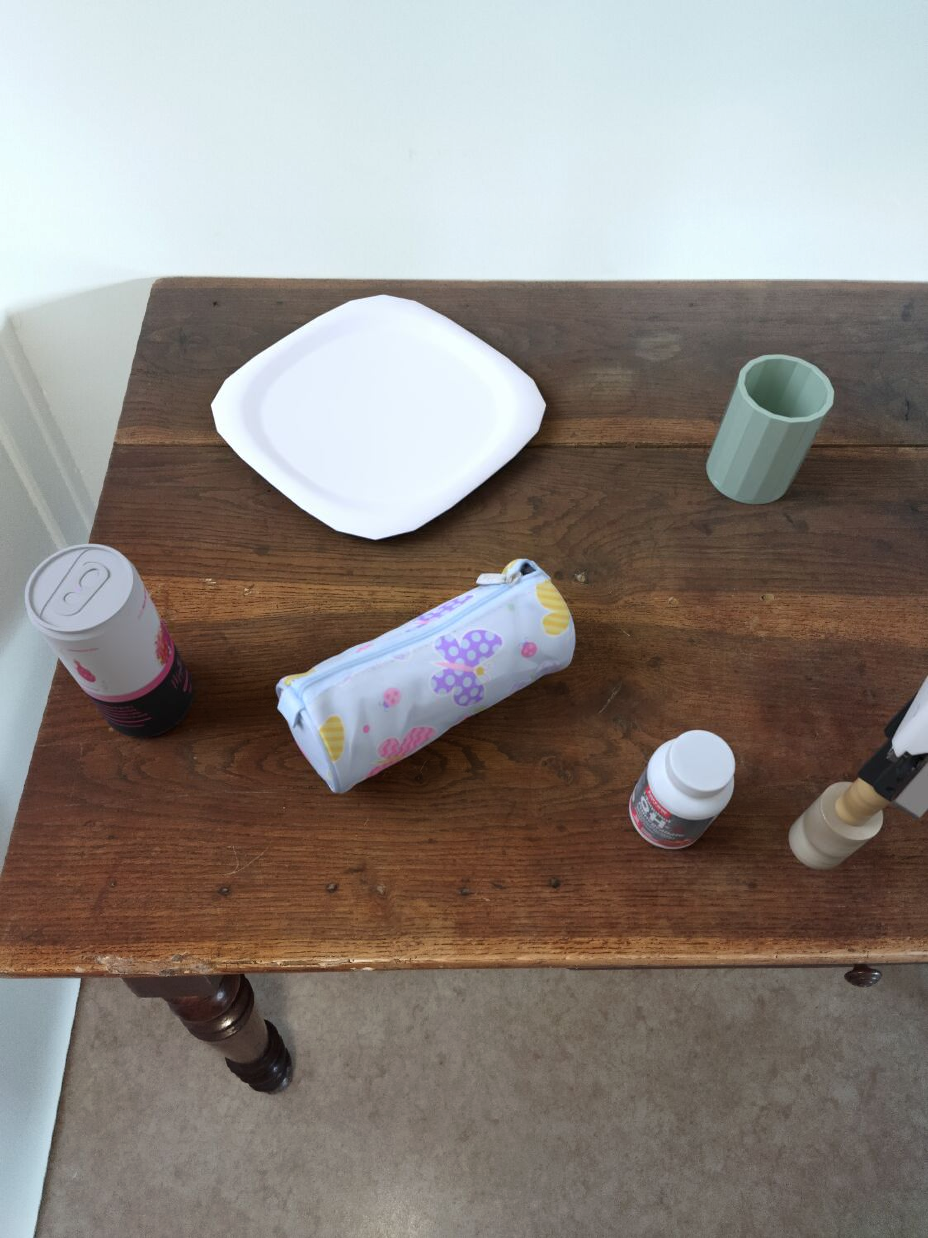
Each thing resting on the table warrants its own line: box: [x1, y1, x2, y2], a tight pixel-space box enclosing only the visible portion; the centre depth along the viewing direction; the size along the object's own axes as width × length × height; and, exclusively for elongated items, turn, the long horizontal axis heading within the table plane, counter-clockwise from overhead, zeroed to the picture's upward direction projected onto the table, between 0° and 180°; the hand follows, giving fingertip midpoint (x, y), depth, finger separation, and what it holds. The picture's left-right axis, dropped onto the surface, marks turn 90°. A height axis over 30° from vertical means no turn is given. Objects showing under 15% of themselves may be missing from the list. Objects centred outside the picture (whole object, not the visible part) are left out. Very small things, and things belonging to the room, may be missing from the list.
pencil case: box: [275, 558, 576, 795], centre depth 61 cm, size 21×9×10 cm, turn 123°
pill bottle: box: [628, 729, 736, 850], centre depth 57 cm, size 5×5×10 cm
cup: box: [705, 353, 835, 505], centre depth 74 cm, size 7×7×10 cm
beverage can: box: [24, 543, 195, 738], centre depth 58 cm, size 6×6×15 cm
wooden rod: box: [788, 777, 891, 871], centre depth 50 cm, size 4×4×18 cm
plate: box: [210, 294, 547, 542], centre depth 79 cm, size 25×25×2 cm
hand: (899, 766), depth 47 cm, fingers closed on wooden rod, 2 cm apart
